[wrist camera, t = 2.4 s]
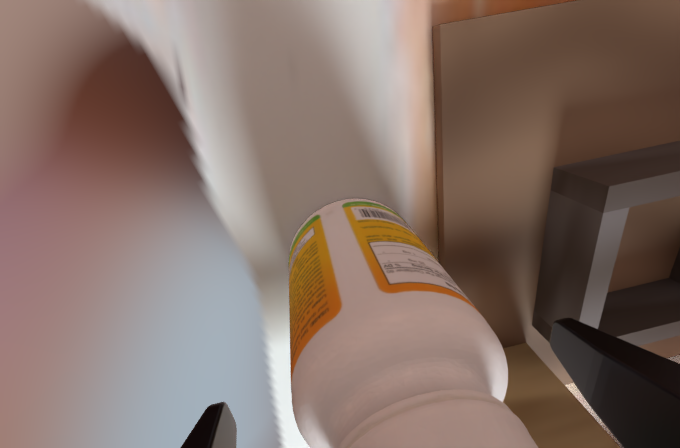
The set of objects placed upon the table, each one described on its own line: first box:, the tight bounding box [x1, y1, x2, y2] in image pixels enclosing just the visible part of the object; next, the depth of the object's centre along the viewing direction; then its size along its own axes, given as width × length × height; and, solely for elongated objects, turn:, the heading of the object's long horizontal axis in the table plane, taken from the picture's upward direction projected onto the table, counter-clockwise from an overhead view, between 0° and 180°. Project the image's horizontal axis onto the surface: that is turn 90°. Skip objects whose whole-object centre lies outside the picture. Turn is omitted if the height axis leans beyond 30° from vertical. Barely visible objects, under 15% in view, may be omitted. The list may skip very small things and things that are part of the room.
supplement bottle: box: [289, 199, 538, 448], centre depth 10 cm, size 5×5×10 cm
